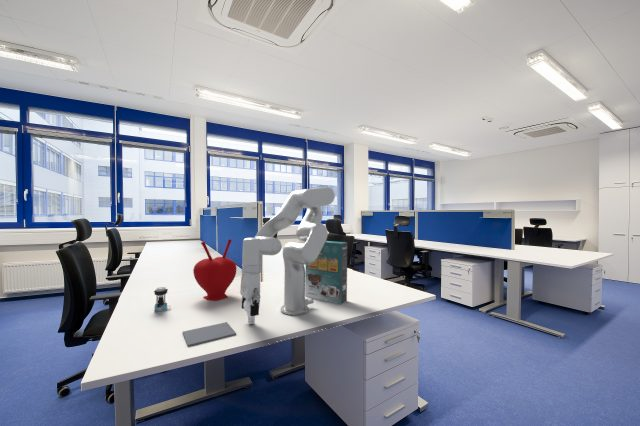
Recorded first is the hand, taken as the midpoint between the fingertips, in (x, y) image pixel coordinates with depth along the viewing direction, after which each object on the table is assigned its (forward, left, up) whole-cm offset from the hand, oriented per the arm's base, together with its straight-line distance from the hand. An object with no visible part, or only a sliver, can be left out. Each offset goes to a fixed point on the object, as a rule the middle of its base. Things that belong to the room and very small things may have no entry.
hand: (249, 311), depth 107 cm
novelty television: (+2, -43, -5) cm, 44 cm away
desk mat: (+15, 0, -5) cm, 16 cm away
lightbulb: (-1, 0, -5) cm, 5 cm away
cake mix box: (-45, -10, -5) cm, 46 cm away
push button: (+27, -37, -5) cm, 46 cm away
